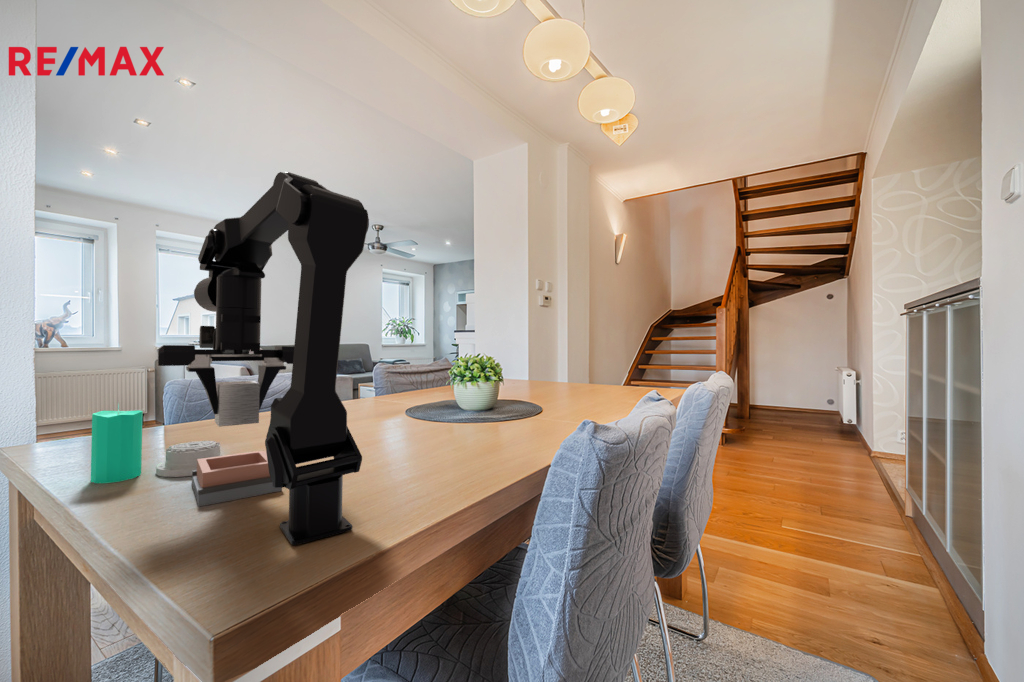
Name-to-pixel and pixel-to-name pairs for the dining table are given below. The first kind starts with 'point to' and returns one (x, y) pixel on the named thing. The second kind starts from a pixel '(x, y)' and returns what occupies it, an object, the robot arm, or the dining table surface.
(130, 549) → the dining table surface
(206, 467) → the frame
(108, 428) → the candle
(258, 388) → the block
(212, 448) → the mechanical component
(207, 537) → the dining table surface
